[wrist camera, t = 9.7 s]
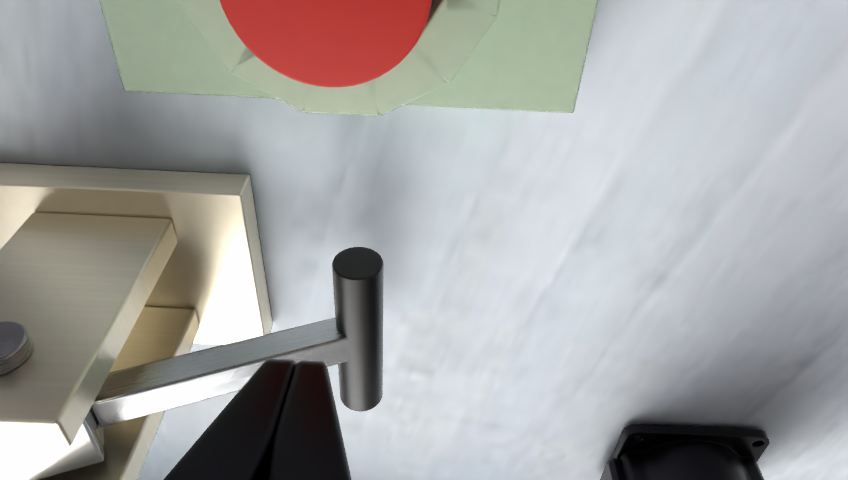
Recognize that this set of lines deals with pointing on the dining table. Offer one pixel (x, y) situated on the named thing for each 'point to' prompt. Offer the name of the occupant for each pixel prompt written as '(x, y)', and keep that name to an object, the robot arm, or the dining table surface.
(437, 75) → the button box
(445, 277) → the dining table surface
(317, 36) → the red push button
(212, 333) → the switch bracket
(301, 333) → the switch lever
